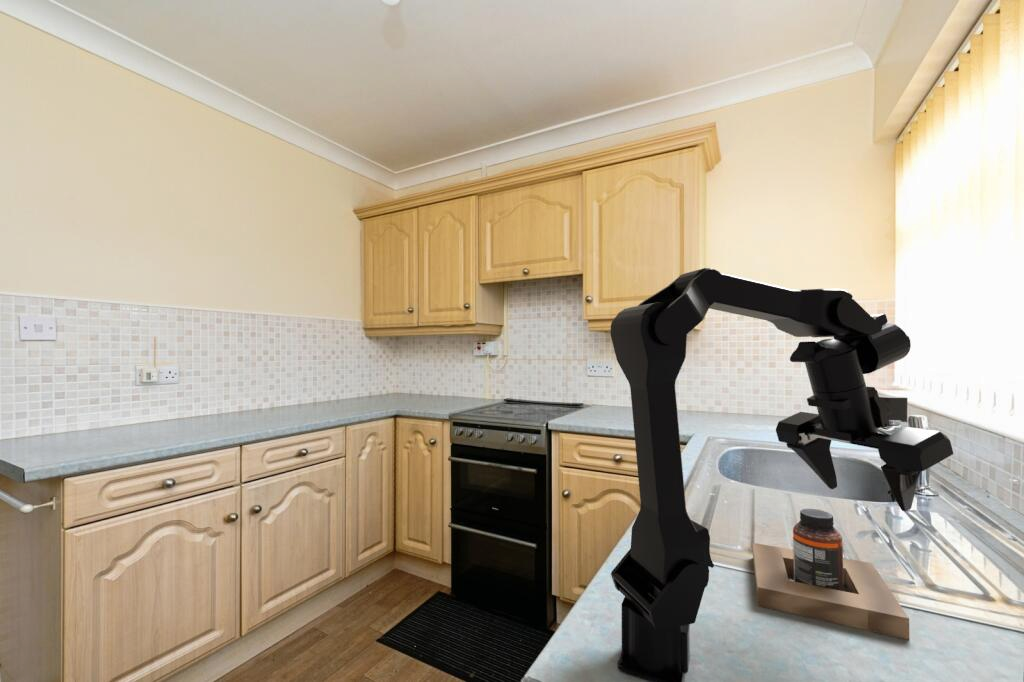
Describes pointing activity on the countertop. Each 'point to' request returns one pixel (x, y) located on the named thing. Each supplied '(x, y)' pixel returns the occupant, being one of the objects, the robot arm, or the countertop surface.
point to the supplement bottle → (818, 550)
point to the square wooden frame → (829, 594)
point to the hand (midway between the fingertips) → (867, 498)
